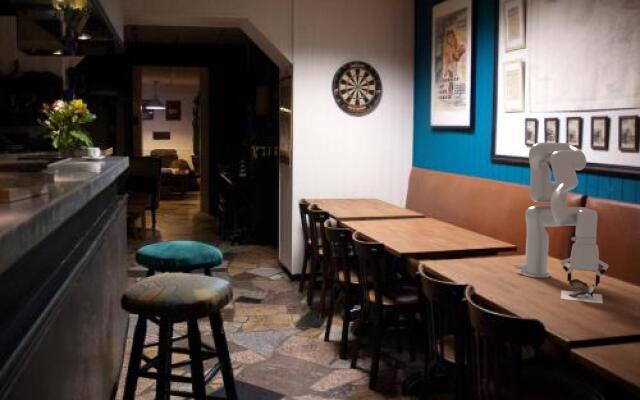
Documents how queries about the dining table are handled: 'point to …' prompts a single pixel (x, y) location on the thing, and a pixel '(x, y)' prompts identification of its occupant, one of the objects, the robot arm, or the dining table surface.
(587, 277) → the dining table surface
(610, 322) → the dining table surface
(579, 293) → the eagle figurine
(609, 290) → the dining table surface
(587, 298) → the white square panel
